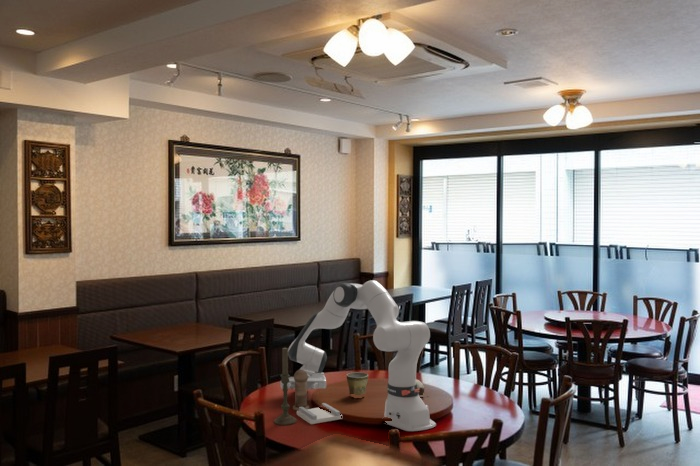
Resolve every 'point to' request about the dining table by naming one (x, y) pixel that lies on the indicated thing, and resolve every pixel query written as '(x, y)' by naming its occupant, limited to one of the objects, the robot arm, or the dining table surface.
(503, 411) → the dining table surface
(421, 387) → the skull
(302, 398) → the tan wooden upright piece
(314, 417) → the tray
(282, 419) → the candlestick holder
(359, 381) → the ceramic cup
